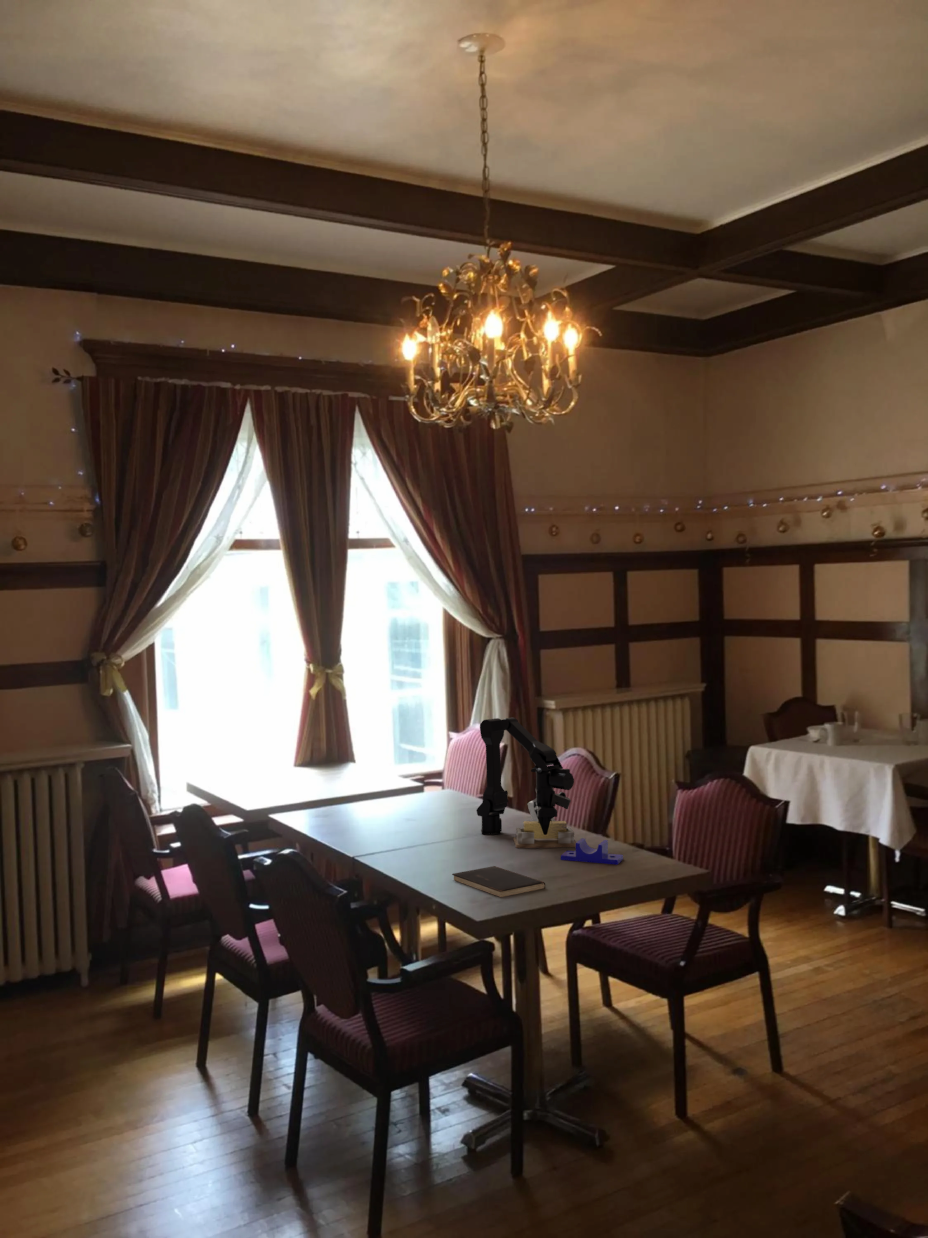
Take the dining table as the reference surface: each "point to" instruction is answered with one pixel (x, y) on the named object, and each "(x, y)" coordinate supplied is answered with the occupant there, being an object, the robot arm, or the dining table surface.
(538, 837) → the brass link
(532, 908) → the dining table surface
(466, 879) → the hardcover book
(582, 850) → the mounting bracket
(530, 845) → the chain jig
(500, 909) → the dining table surface
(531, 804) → the grey curved slab
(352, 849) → the dining table surface
